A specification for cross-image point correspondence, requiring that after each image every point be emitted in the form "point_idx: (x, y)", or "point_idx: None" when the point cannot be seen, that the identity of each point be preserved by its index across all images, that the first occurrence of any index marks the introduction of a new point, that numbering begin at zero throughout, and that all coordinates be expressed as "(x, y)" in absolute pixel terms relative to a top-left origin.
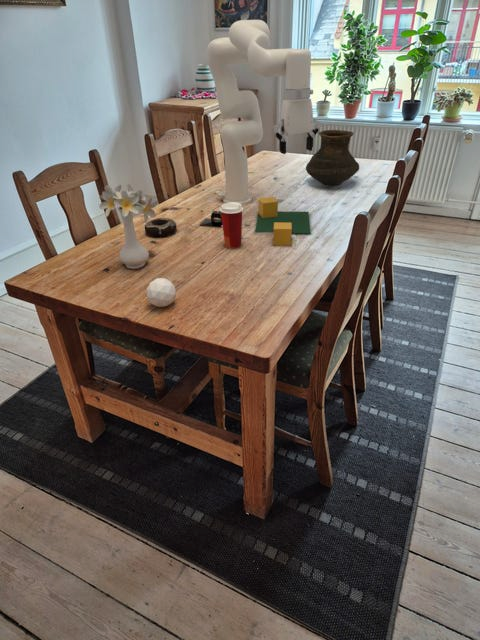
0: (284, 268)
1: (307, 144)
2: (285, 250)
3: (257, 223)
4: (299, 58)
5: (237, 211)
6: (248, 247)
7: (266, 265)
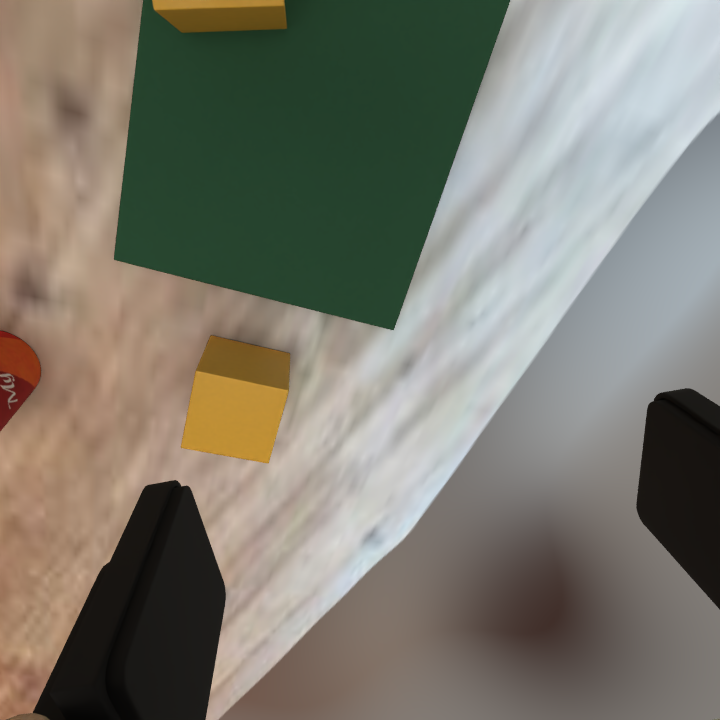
0: None
1: (703, 487)
2: None
3: (136, 121)
4: None
5: None
6: (79, 400)
7: None
